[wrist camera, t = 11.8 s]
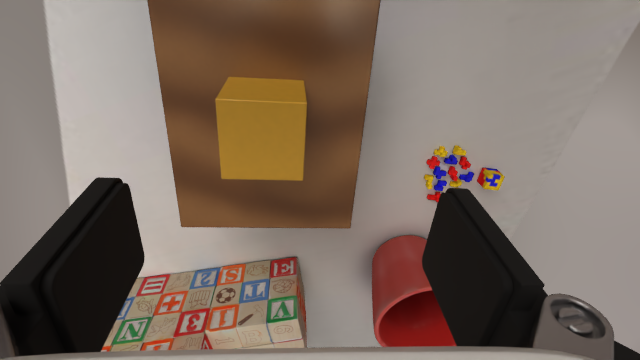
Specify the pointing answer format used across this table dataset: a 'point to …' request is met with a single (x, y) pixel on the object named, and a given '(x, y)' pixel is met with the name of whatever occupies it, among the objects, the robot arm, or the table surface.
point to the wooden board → (270, 63)
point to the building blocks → (486, 178)
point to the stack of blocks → (215, 310)
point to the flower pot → (405, 297)
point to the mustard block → (262, 128)
